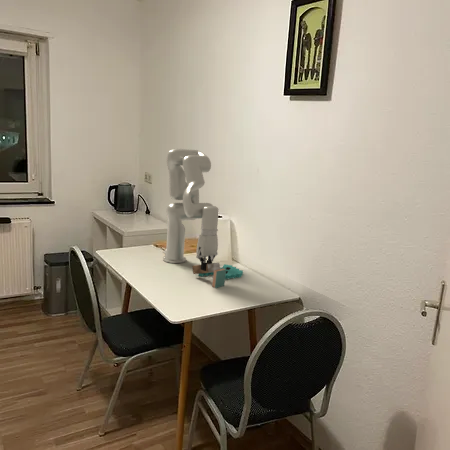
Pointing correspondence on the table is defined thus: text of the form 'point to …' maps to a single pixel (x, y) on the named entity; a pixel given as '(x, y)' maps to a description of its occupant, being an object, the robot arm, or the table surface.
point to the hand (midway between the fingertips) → (206, 269)
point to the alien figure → (227, 272)
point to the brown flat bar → (209, 268)
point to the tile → (219, 278)
